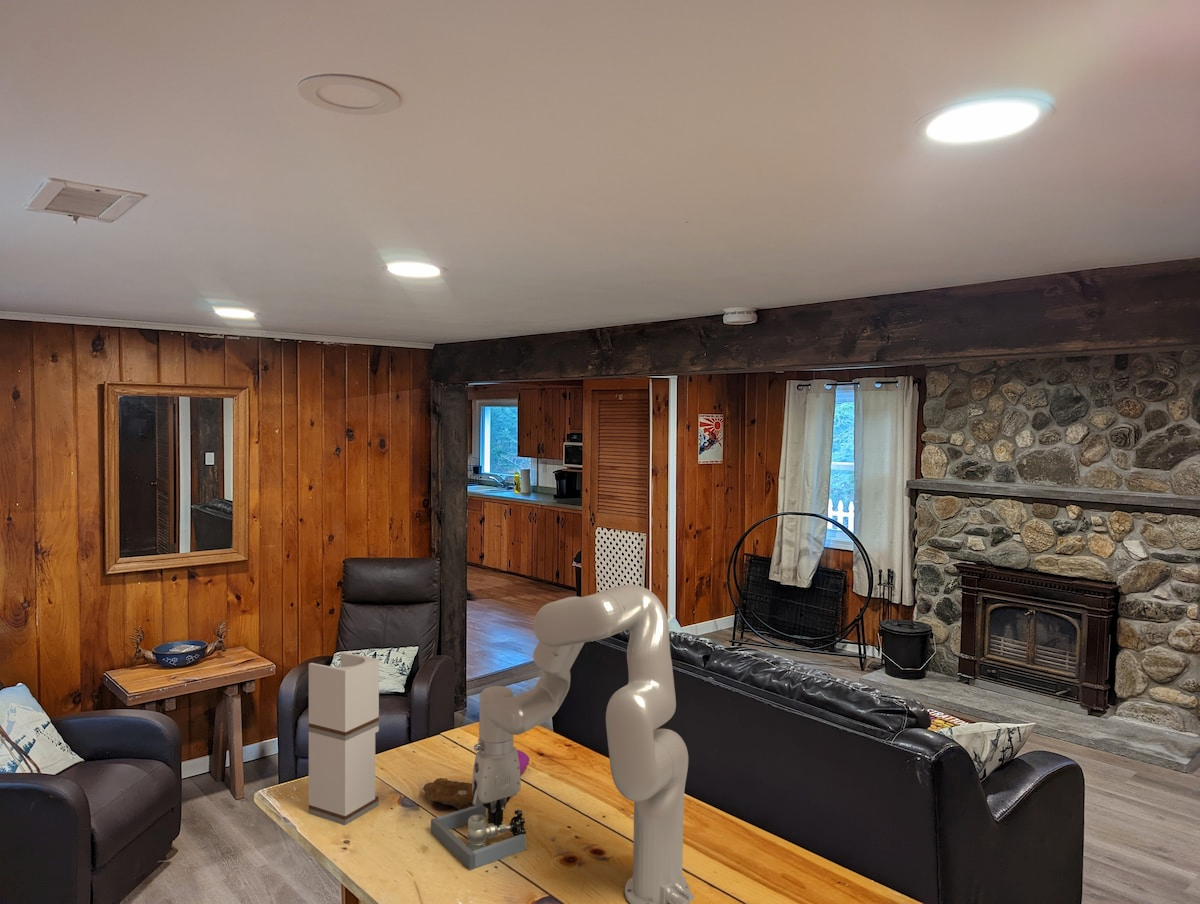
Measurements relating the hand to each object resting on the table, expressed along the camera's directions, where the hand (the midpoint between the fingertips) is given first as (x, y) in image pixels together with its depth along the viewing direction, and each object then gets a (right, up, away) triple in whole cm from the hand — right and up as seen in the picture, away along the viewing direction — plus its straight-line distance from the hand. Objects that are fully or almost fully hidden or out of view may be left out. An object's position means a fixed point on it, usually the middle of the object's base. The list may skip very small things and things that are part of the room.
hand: (495, 826), depth 174 cm
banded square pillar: (-37, -1, +11) cm, 38 cm away
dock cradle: (-3, -2, -2) cm, 4 cm away
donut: (-1, -1, +33) cm, 33 cm away
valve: (0, -2, -4) cm, 5 cm away
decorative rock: (-13, -2, +16) cm, 21 cm away
